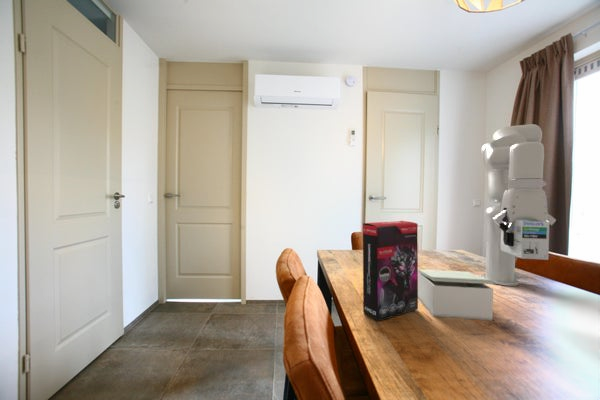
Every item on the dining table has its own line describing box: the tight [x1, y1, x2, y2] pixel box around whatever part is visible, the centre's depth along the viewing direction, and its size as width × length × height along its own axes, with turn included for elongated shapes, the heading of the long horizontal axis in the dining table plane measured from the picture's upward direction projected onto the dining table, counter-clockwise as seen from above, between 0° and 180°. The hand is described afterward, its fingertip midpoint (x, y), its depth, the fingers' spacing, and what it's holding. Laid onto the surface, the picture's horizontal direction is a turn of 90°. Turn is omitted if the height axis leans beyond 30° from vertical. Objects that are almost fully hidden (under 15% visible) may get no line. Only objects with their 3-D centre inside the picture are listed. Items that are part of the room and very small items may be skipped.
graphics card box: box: [362, 220, 419, 322], centre depth 77 cm, size 17×7×27 cm, turn 117°
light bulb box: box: [501, 218, 550, 261], centre depth 75 cm, size 11×7×11 cm, turn 169°
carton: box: [418, 272, 494, 321], centre depth 80 cm, size 16×14×9 cm
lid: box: [418, 268, 494, 285], centre depth 80 cm, size 16×14×1 cm
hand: (522, 245), depth 75 cm, fingers closed on light bulb box, 6 cm apart
